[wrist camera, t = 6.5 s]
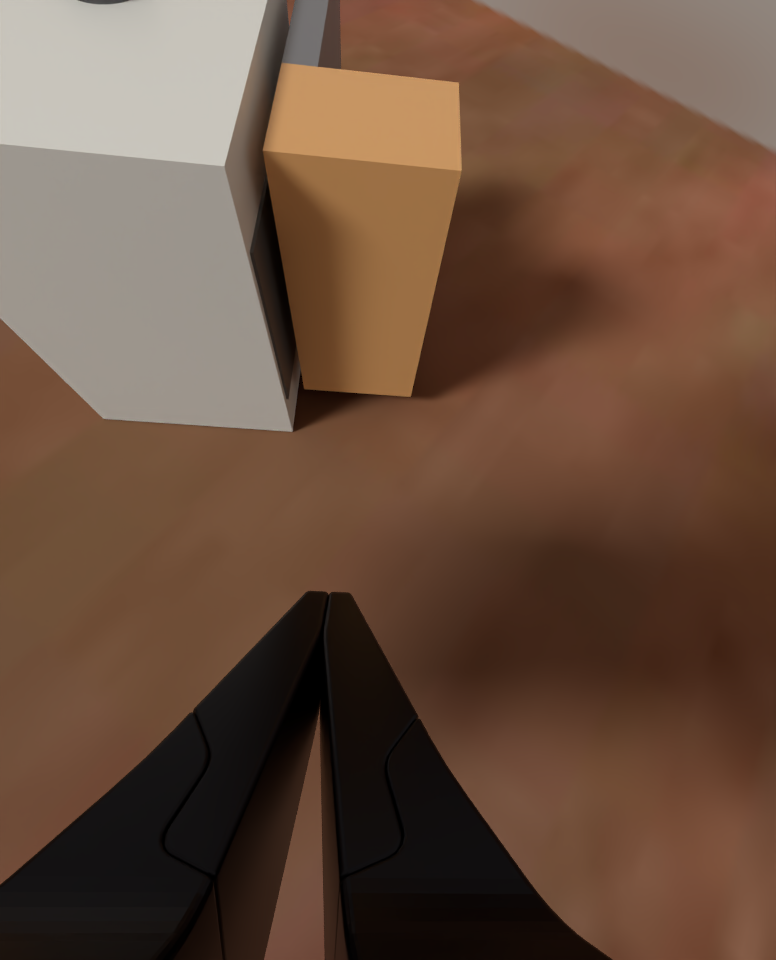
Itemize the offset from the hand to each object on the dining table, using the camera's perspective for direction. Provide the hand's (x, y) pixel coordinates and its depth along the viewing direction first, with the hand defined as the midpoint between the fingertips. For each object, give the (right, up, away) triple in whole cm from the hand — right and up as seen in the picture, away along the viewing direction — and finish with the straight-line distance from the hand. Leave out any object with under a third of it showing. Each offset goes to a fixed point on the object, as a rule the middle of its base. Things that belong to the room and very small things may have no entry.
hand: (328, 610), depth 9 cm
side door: (0, +10, +10) cm, 14 cm away
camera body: (-6, +8, +10) cm, 14 cm away
